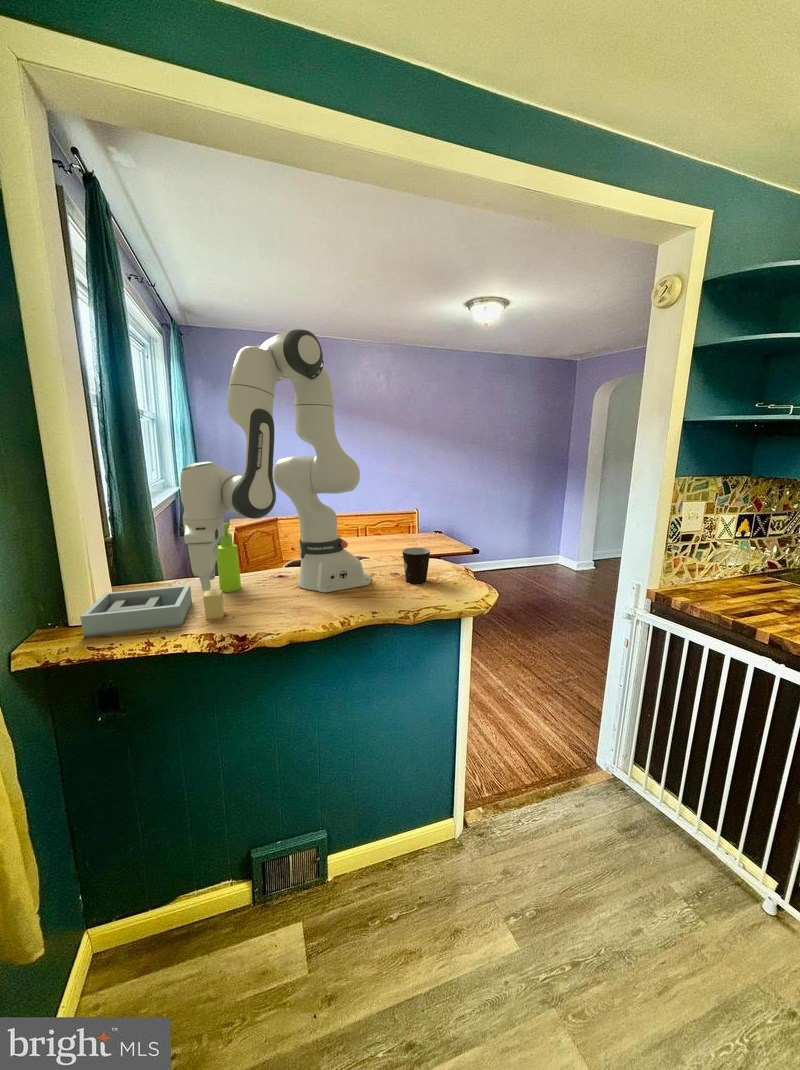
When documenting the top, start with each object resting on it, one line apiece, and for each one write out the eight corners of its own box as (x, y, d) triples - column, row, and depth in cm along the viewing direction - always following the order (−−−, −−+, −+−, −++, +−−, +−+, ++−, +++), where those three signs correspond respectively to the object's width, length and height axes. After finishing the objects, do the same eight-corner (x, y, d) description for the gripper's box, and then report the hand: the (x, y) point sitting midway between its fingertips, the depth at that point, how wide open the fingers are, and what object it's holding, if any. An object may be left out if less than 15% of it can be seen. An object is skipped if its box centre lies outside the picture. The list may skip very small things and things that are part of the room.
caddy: (192, 602, 116) (190, 585, 115) (181, 625, 102) (179, 606, 100) (107, 611, 111) (105, 592, 110) (83, 637, 96) (80, 616, 95)
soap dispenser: (213, 591, 125) (206, 525, 121) (229, 584, 131) (223, 520, 127) (229, 593, 123) (222, 526, 119) (245, 586, 129) (239, 522, 125)
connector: (224, 611, 110) (222, 589, 109) (222, 617, 107) (220, 594, 105) (207, 613, 109) (205, 591, 108) (205, 619, 105) (203, 596, 104)
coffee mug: (404, 576, 138) (404, 547, 136) (430, 577, 137) (431, 547, 135) (399, 588, 127) (399, 556, 125) (427, 589, 126) (428, 557, 124)
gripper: (196, 523, 112) (200, 574, 114) (182, 537, 93) (188, 598, 95) (222, 522, 114) (226, 572, 116) (213, 536, 94) (218, 595, 97)
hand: (208, 584), depth 105 cm, fingers open, 8 cm apart
